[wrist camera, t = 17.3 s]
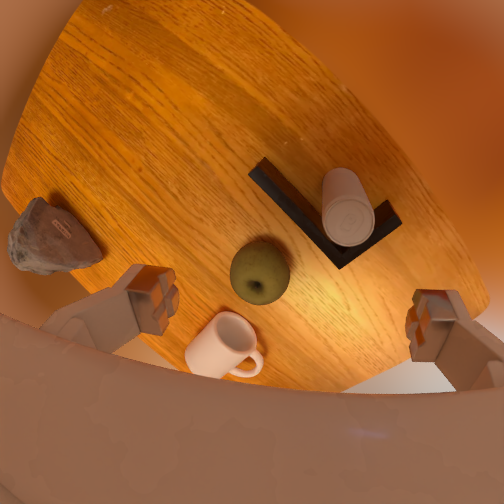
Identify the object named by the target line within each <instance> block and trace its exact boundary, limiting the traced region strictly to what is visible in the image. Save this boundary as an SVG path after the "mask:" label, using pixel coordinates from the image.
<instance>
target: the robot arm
mask: <svg viewBox="0 0 504 504" xmlns="http://www.w3.org/2000/svg"><path fill="white" fill-rule="evenodd" d="M175 280H176V276H175V271H174V270H173V269H172V268H166V267H159V266H151V265H144V264H133V265H132V266H131V267H130V268H129V269H128V270H127V271H126V272H125V273H124V274H123V276H122V277H121V278H120V279H119V280H118V281H117V282H116V283H115V284H114V285H113V287H112V288H109V287H108V288H105V289H103V290H101V291H98V292H96V293H94V294H92V295H89V296H87V297H85V298H83V299H80V300H78V301H76V302H74V303H71V304H69V305H67V306H65V307H62V308H60V309H58V310H56V311H55V312H54V313H53V314H52V315H51V316H50V317H49V318H48V319H47V320H46V322H45V323H44V324H43V325H42V326H41V327H40V328H39V329H37V328H35V327H32V326H29V325H27V324H25V323H22V322H20V321H18V320H15V319H13V318H10V317H8V316H6V315H4V314H2V313H0V504H504V343H503V342H502V341H501V340H500V339H498V338H497V337H496V336H495V335H493V334H492V333H491V332H489V331H488V330H487V329H486V328H484V327H483V326H482V325H481V324H479V323H478V322H477V321H472V319H471V317H470V315H469V313H468V311H467V309H466V307H465V305H464V303H463V301H462V299H461V297H460V295H459V293H458V291H456V290H429V289H416V291H415V292H414V295H413V298H412V300H413V304H414V306H412V307H411V308H410V309H409V310H408V313H407V317H406V323H405V331H406V336H407V338H408V339H409V340H410V341H411V343H410V345H409V349H410V354H411V358H412V361H413V362H435V365H436V366H437V367H438V368H439V369H440V371H441V372H442V373H443V374H444V376H445V377H446V378H447V379H448V381H449V382H450V383H451V384H452V386H453V387H454V388H455V389H456V391H455V392H442V393H421V394H356V393H337V392H322V391H309V390H298V389H288V388H279V387H271V386H263V385H255V384H248V383H241V382H235V381H229V380H223V379H217V378H212V377H206V376H201V375H196V374H191V373H186V372H181V371H177V370H172V369H167V368H163V367H159V366H155V365H151V364H147V363H143V362H139V361H136V360H132V359H128V358H124V357H121V356H117V355H114V354H111V353H112V352H114V351H116V350H117V349H119V348H120V347H121V346H123V345H124V344H126V343H127V342H129V341H130V340H132V339H133V338H135V337H136V336H138V335H139V334H140V332H142V333H148V334H153V335H159V336H162V335H163V333H164V332H165V330H166V328H167V327H168V325H169V319H168V318H170V317H171V316H173V315H175V313H176V311H177V309H178V305H179V291H178V288H177V287H176V286H175V285H174V284H173V283H174V282H175Z"/></svg>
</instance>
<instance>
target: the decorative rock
mask: <svg viewBox="0 0 504 504" xmlns="http://www.w3.org/2000/svg"><path fill="white" fill-rule="evenodd" d="M7 251H8V254H9V256H10V258H11V261H12V263H13V264H14V265H15V266H16V267H17V268H19V269H20V270H22V271H25V270H28V271H31V272H33V273H37V274H41V275H47V274H48V275H50V274H52V273H54V272H56V271H64V272H69V271H71V270H73V269H79V268H86V267H90V266H91V265H93V264H95V263H98V262H100V261H101V260H102V259H103V257H102V253H101V251H100V249H99V248H98V246H97V245H96V244H95V242H94V241H93V240H92V239H91V237H90V235H89V233H88V232H87V231H86V230H85V229H84V227H83V226H82V225H81V224H80V223H79V222H78V220H77V219H76V218H75V217H74V216H73V215H72V214H71V213H69V212H68V211H65V210H64V209H62V208H61V207H60V206H58V205H57V206H56V207H52V206H50V205H49V204H48V203H47V202H46V201H45V200H44V199H43V198H42V197H38V198H34V199H33V200H32V201H31V202H30V203H29V204H28V206H27V208H26V210H25V211H24V212H23V213H22V214H21V215H20V217H19V218H18V220H17V221H16V222H15V224H14V228H13V229H12V230H11V232H10V233H9V235H8V247H7Z"/></svg>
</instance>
